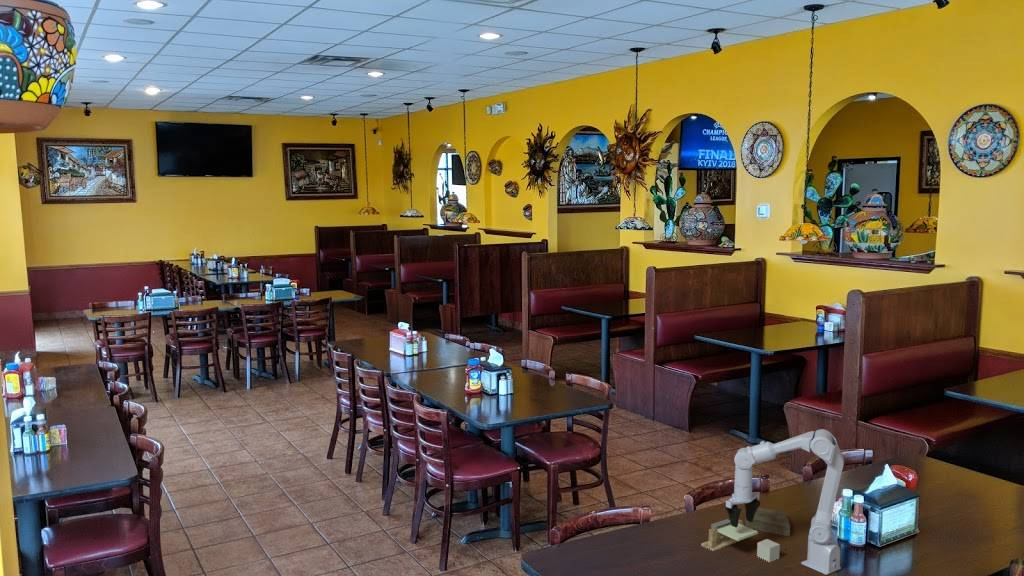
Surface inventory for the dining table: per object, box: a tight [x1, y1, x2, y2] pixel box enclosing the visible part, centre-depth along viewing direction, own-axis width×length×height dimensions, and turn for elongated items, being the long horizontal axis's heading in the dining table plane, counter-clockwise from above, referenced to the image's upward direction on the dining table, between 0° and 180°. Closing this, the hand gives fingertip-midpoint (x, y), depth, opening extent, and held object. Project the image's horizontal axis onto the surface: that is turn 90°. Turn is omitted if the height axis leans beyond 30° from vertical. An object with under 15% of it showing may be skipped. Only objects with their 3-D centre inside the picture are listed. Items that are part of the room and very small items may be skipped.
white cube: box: [756, 538, 781, 563], centre depth 262 cm, size 5×5×5 cm
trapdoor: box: [710, 518, 759, 542], centre depth 269 cm, size 12×10×1 cm
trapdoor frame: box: [700, 519, 744, 552], centre depth 273 cm, size 5×15×7 cm, turn 124°
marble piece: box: [744, 507, 791, 537], centre depth 288 cm, size 17×15×4 cm
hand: (741, 523), depth 266 cm, fingers open, 7 cm apart
